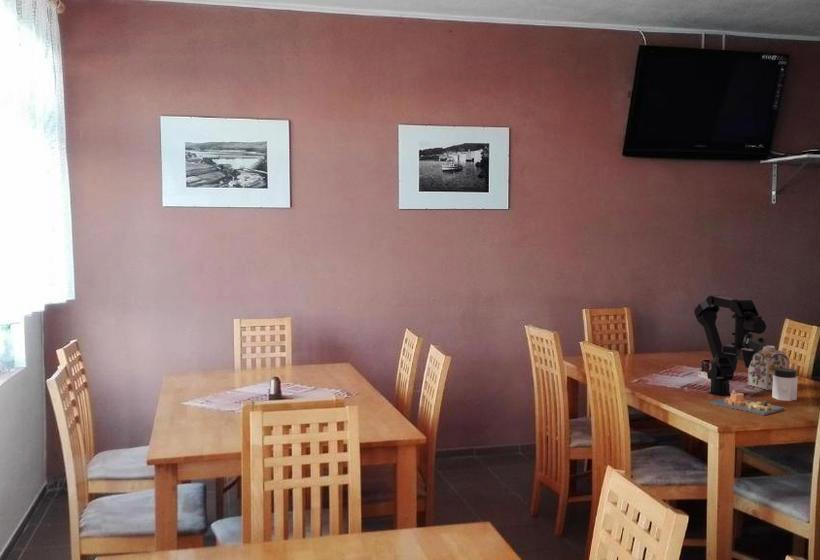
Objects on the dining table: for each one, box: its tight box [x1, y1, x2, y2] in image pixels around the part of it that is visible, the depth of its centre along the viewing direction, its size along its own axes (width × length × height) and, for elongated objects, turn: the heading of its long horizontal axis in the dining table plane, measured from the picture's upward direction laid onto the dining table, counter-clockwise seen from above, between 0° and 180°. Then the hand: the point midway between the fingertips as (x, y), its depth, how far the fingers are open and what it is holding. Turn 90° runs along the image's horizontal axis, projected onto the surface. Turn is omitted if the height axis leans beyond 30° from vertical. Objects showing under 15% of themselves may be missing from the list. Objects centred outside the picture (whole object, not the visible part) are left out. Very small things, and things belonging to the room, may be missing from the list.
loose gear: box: [725, 391, 750, 406], centre depth 290 cm, size 9×9×4 cm
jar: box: [771, 367, 799, 402], centre depth 302 cm, size 9×8×12 cm
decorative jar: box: [747, 345, 790, 391], centre depth 324 cm, size 12×12×18 cm
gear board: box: [710, 389, 785, 416], centre depth 288 cm, size 22×14×4 cm, turn 35°
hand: (740, 369), depth 297 cm, fingers open, 9 cm apart
